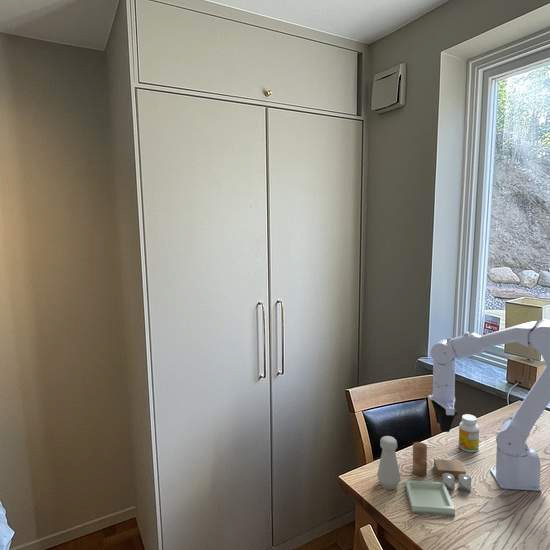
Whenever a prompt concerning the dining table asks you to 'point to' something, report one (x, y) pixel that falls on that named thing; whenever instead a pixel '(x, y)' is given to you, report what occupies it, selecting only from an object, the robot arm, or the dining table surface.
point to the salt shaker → (388, 464)
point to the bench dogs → (463, 482)
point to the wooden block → (448, 467)
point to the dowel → (419, 459)
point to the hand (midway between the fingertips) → (443, 427)
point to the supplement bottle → (469, 433)
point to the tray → (429, 498)
